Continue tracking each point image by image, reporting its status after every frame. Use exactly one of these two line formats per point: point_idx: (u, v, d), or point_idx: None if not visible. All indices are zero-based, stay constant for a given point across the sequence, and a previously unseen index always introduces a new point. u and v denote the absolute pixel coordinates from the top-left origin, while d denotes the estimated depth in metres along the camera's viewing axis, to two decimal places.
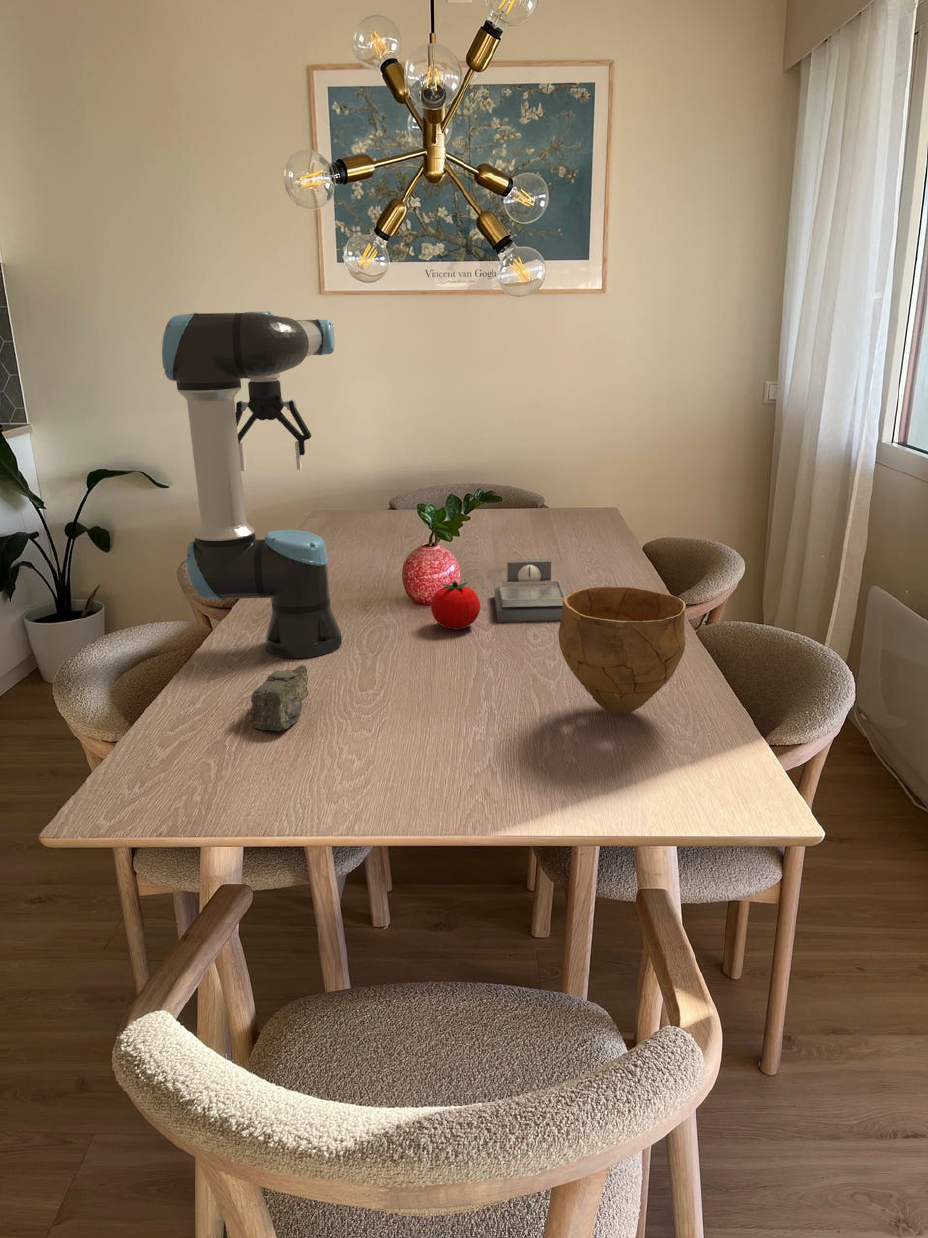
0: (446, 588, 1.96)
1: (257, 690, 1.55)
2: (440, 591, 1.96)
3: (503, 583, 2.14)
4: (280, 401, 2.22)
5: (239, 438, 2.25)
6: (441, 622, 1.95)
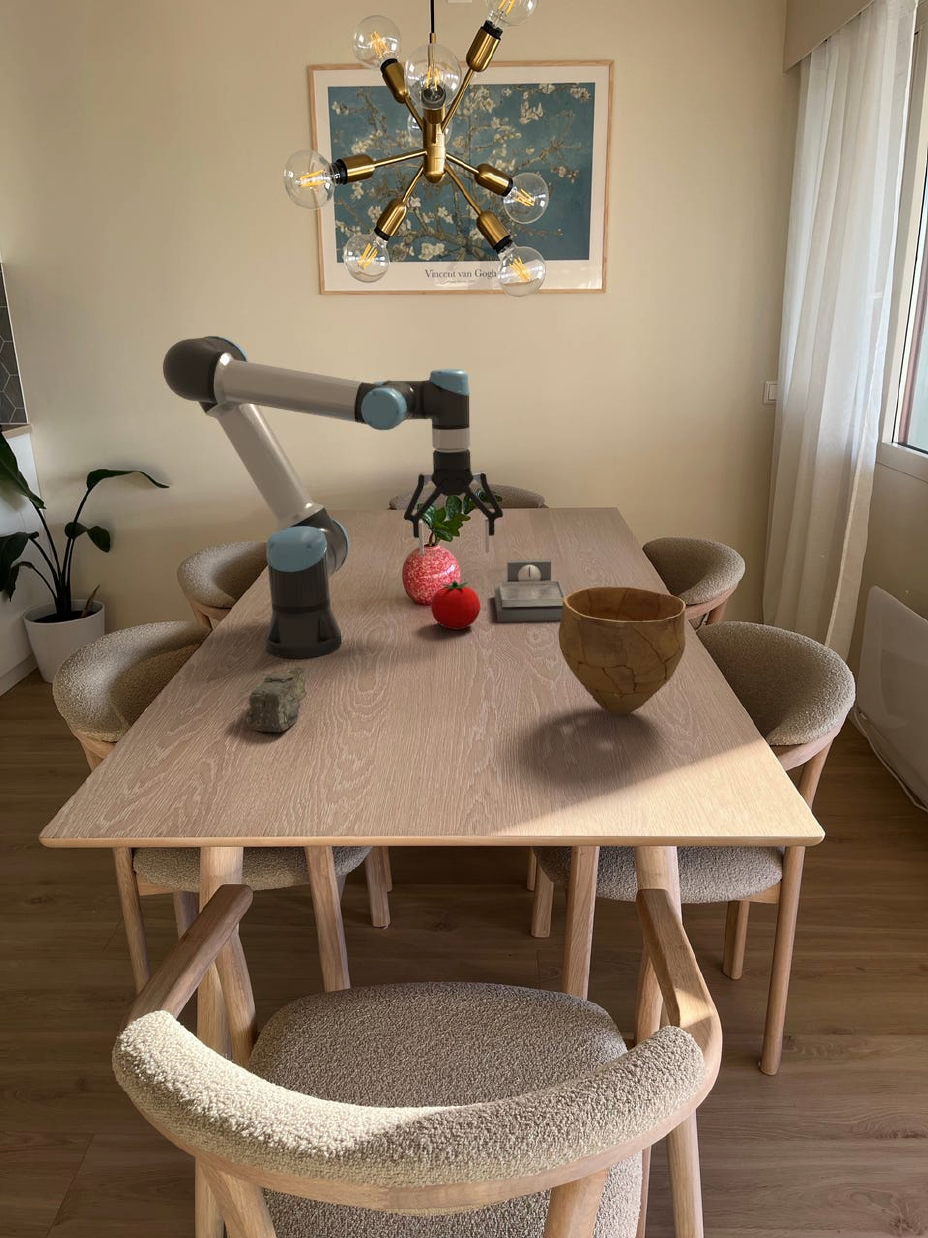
0: (446, 588, 1.96)
1: (255, 691, 1.54)
2: (440, 591, 1.96)
3: (503, 583, 2.14)
4: (470, 474, 1.88)
5: (419, 517, 1.90)
6: (441, 622, 1.95)
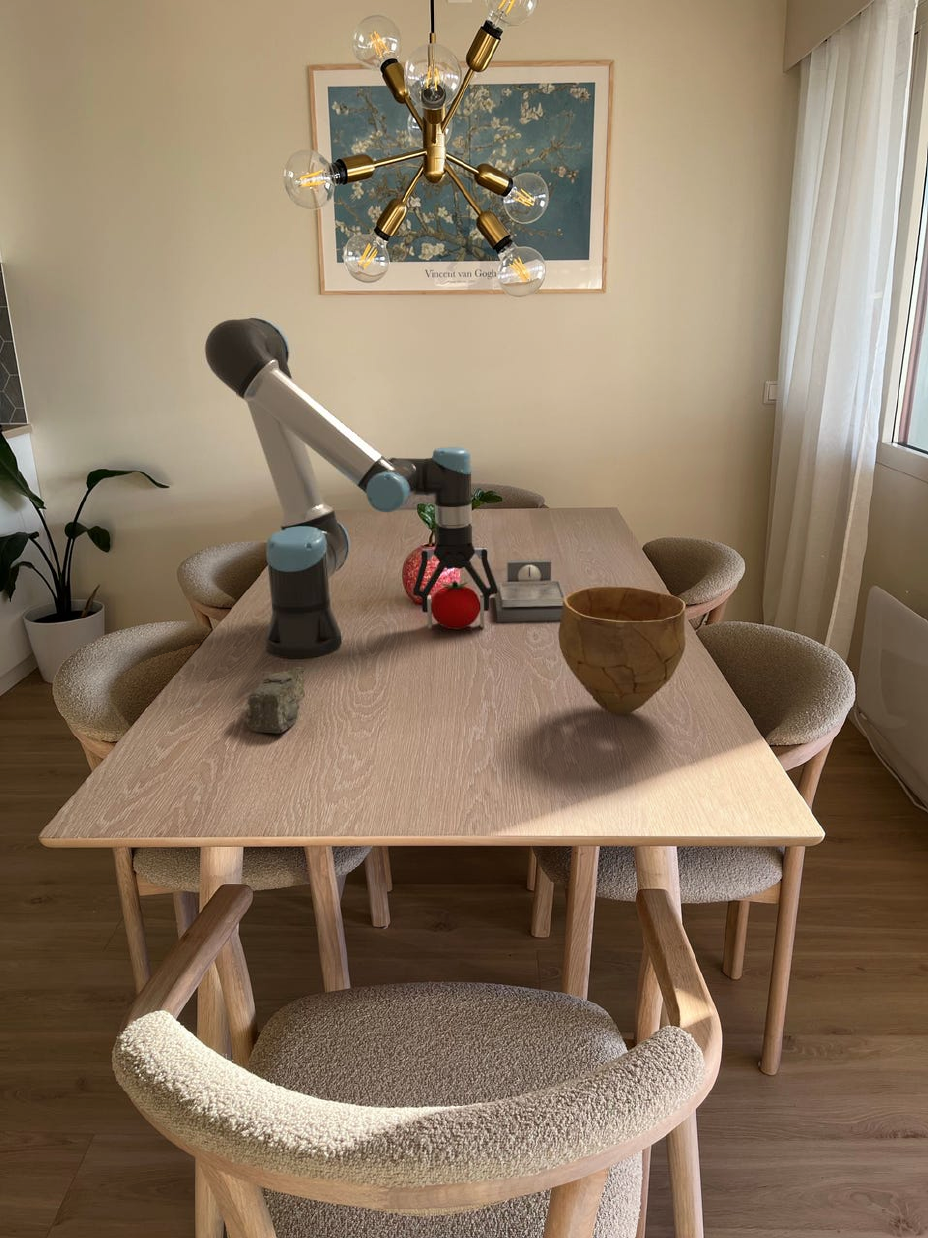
0: (446, 588, 1.96)
1: (254, 692, 1.54)
2: (440, 591, 1.96)
3: (503, 583, 2.14)
4: (472, 548, 1.93)
5: (428, 592, 1.95)
6: (441, 622, 1.95)
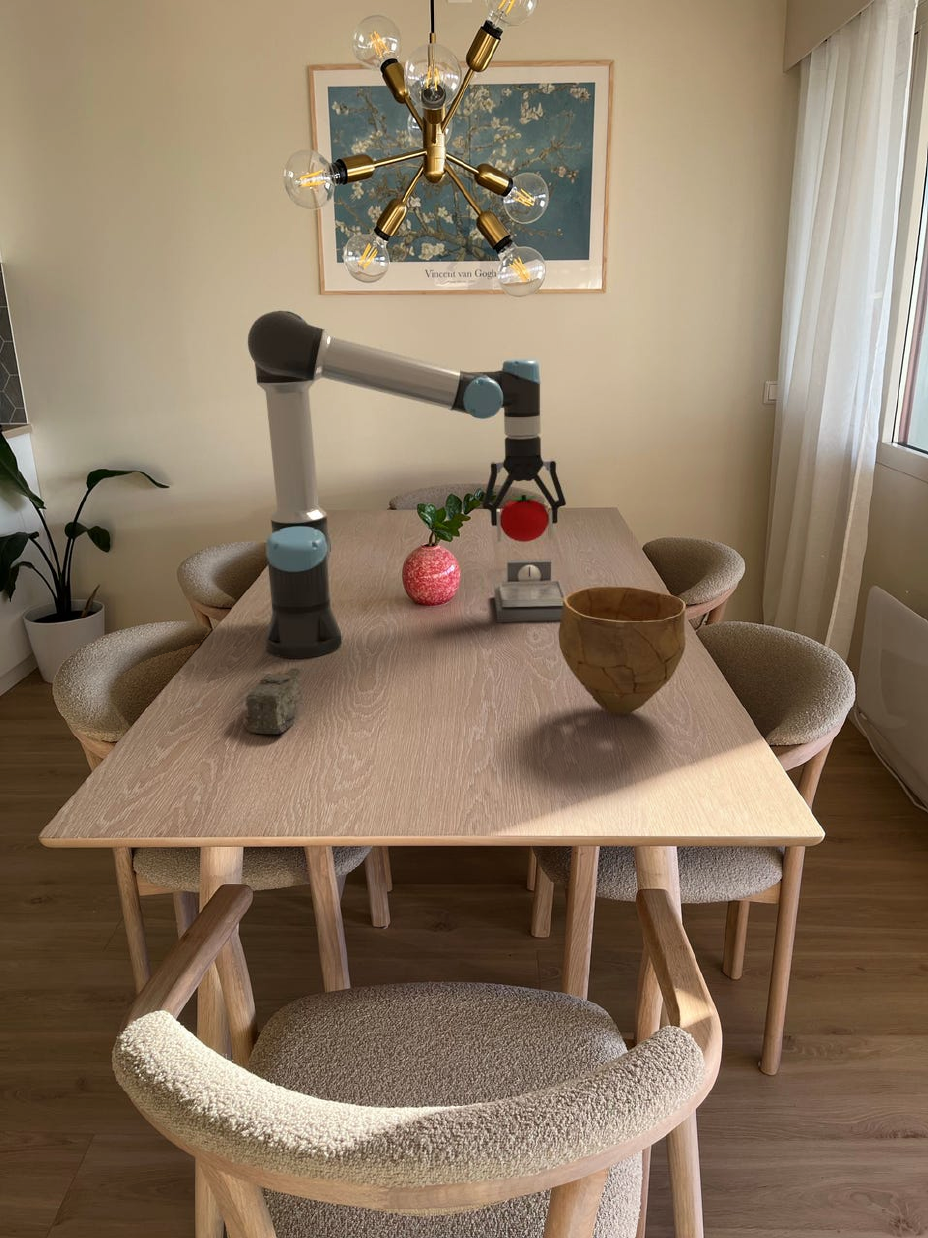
0: (515, 501, 1.99)
1: (251, 693, 1.54)
2: (509, 504, 1.99)
3: (503, 583, 2.14)
4: (541, 460, 1.96)
5: (497, 505, 1.99)
6: (511, 534, 1.99)
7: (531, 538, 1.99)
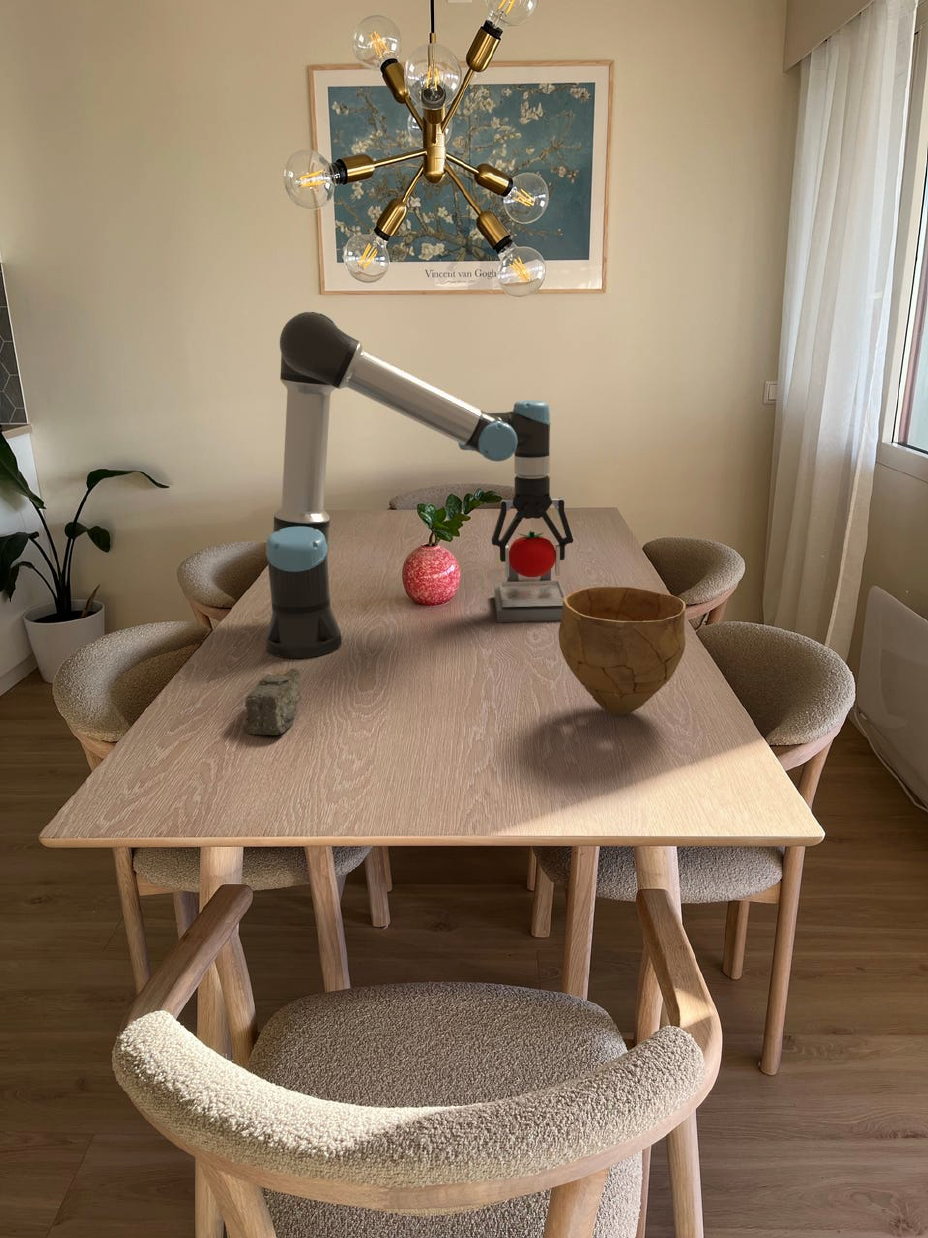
0: (523, 538, 2.04)
1: (251, 695, 1.53)
2: (518, 540, 2.03)
3: (503, 583, 2.14)
4: (550, 499, 2.00)
5: (506, 541, 2.03)
6: (519, 570, 2.03)
7: (539, 574, 2.03)
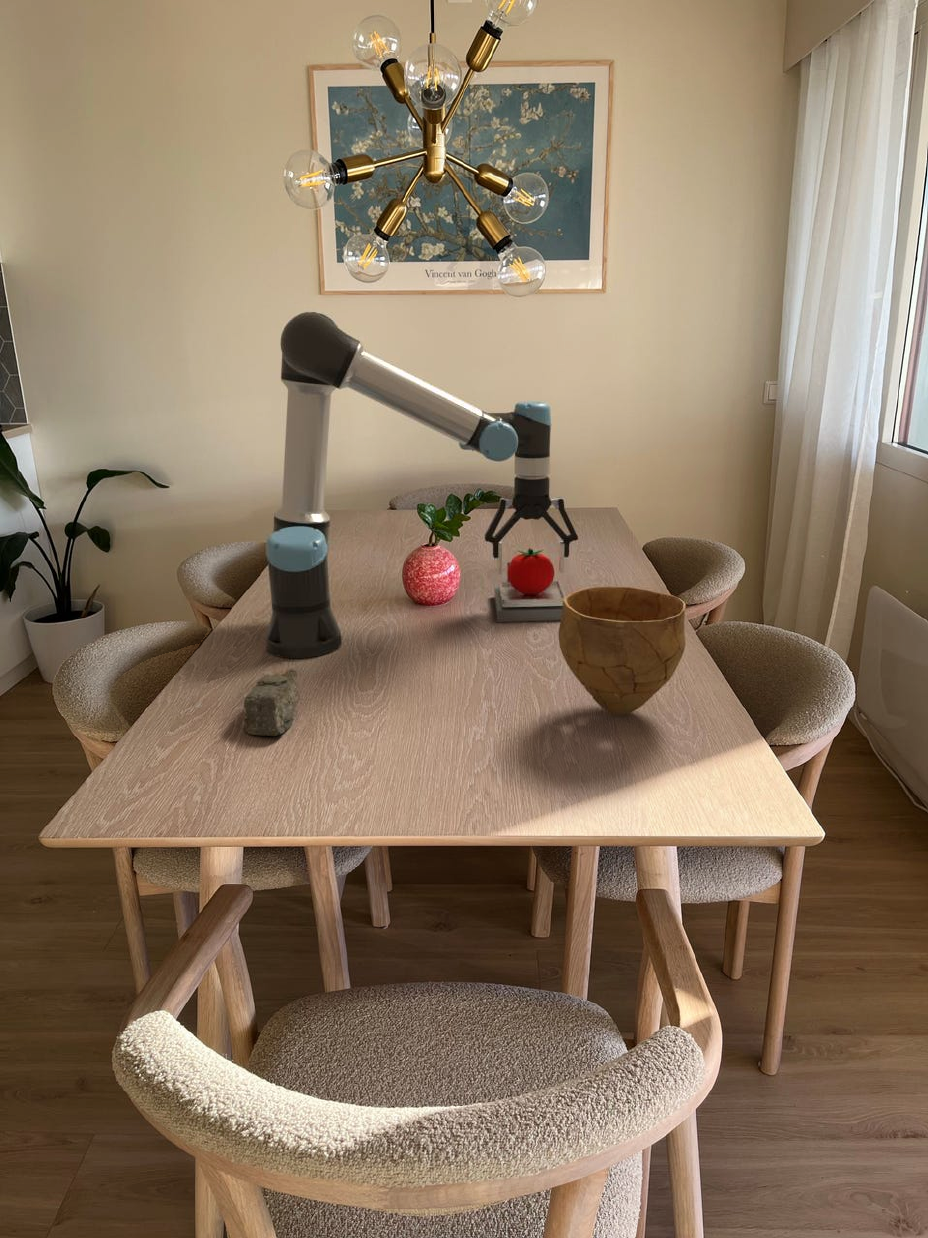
0: (522, 555, 2.05)
1: (249, 695, 1.53)
2: (517, 558, 2.05)
3: (503, 583, 2.14)
4: (549, 499, 2.00)
5: (500, 538, 2.03)
6: (517, 587, 2.04)
7: (537, 592, 2.04)
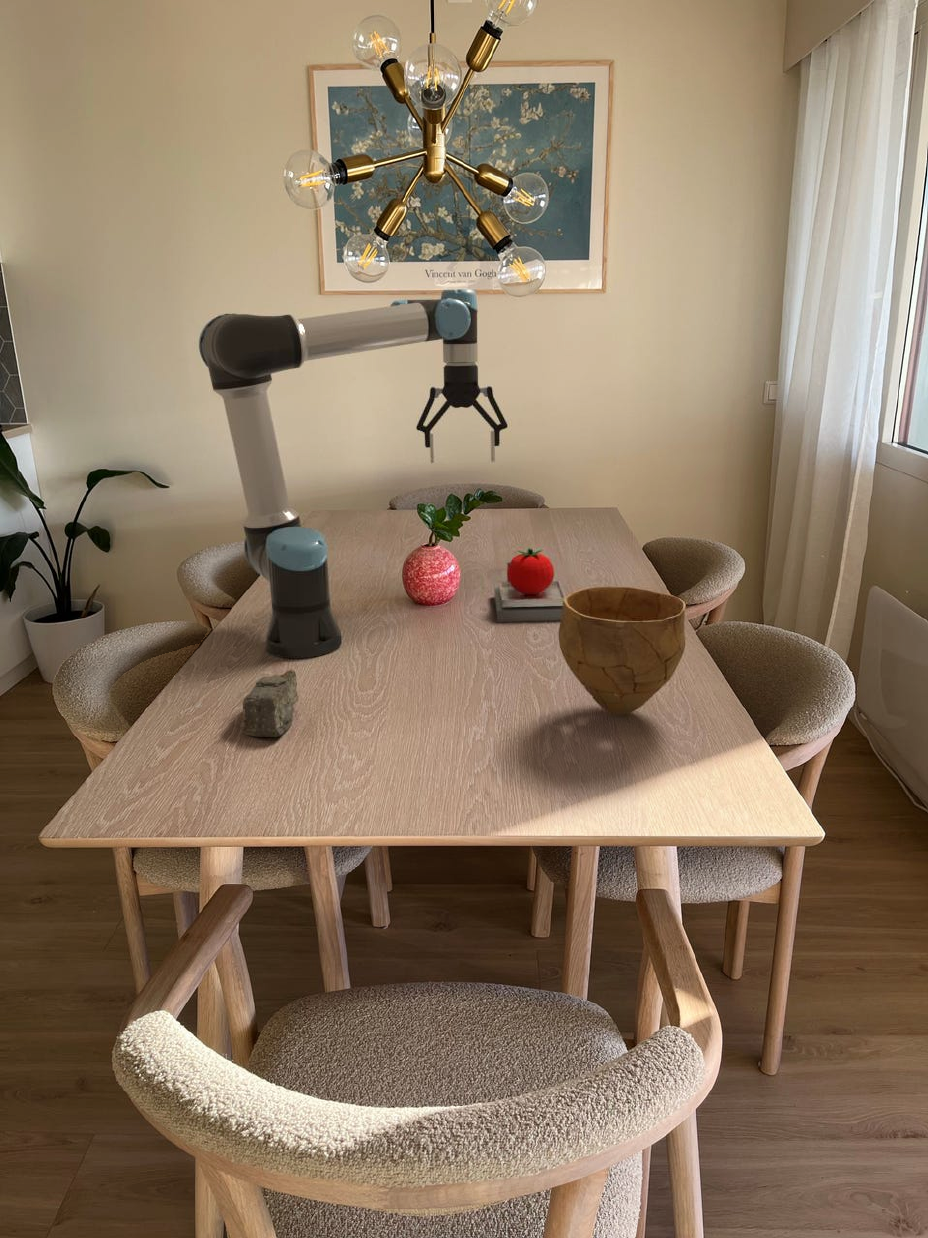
0: (522, 555, 2.05)
1: (248, 696, 1.53)
2: (516, 558, 2.05)
3: (503, 583, 2.14)
4: (477, 387, 2.05)
5: (431, 427, 2.07)
6: (517, 587, 2.04)
7: (537, 592, 2.04)
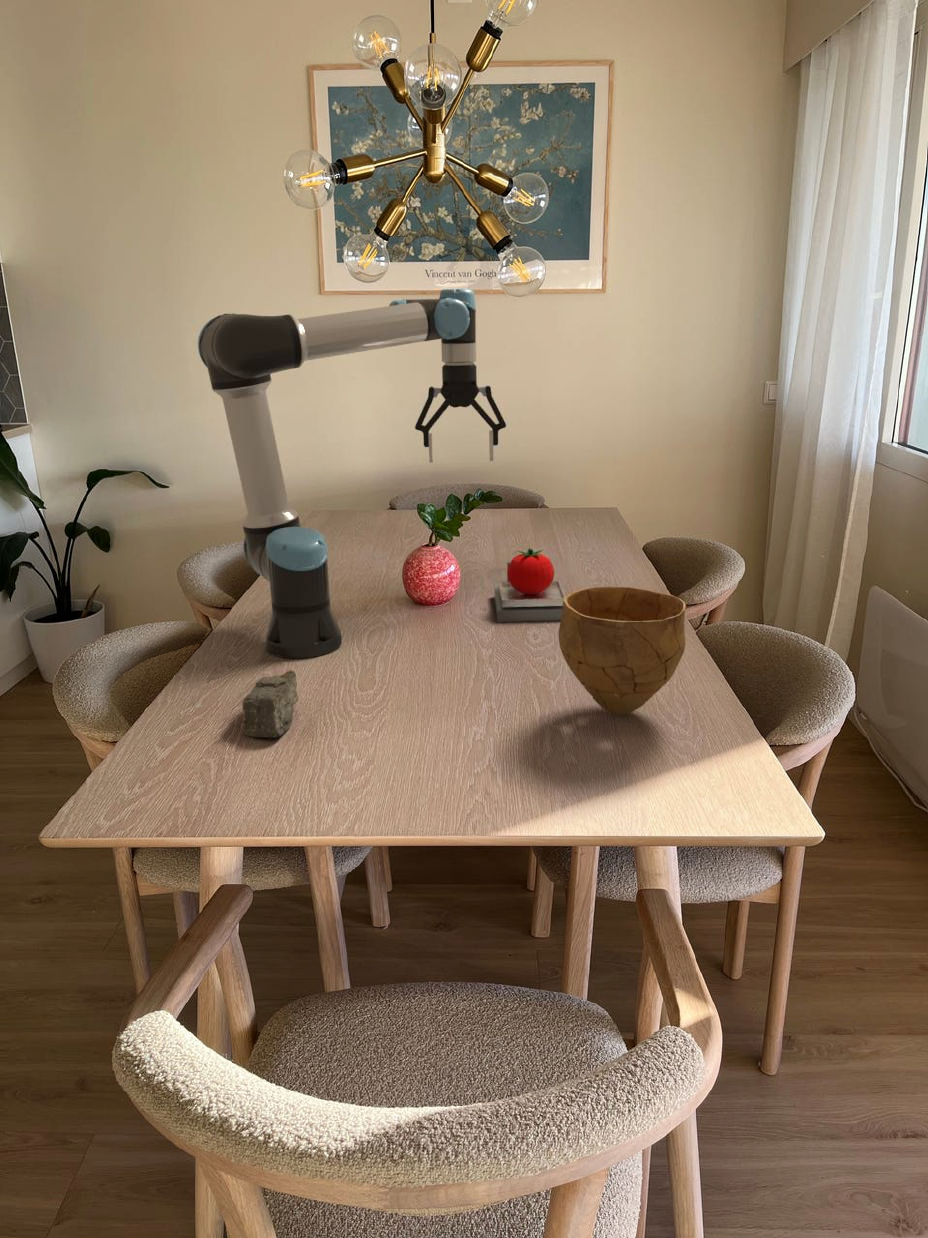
0: (522, 555, 2.05)
1: (248, 697, 1.52)
2: (516, 558, 2.05)
3: (503, 583, 2.14)
4: (476, 387, 2.05)
5: (429, 427, 2.07)
6: (517, 587, 2.04)
7: (537, 592, 2.04)
